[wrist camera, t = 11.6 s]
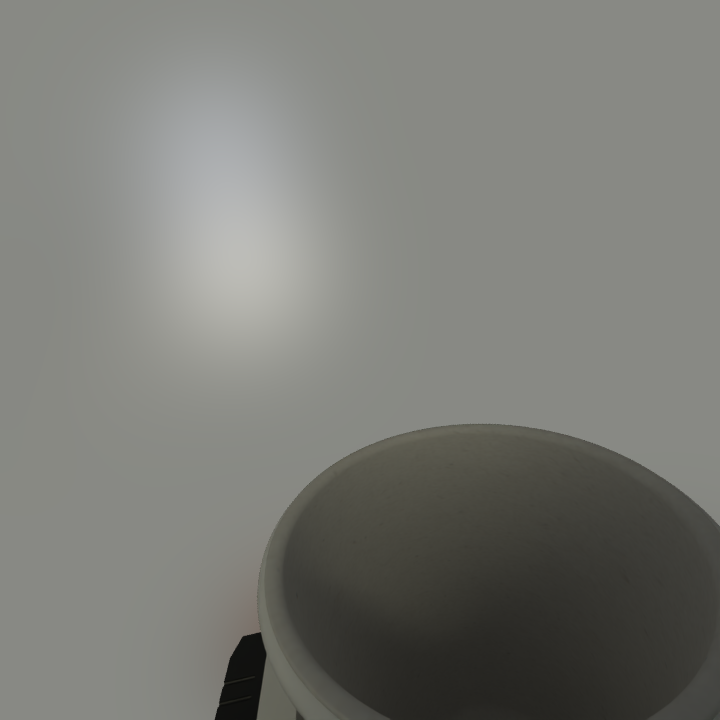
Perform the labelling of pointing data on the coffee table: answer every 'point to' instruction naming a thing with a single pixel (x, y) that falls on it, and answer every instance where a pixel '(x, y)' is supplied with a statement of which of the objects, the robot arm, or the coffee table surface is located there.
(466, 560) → the dixie cup
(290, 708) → the robot arm
